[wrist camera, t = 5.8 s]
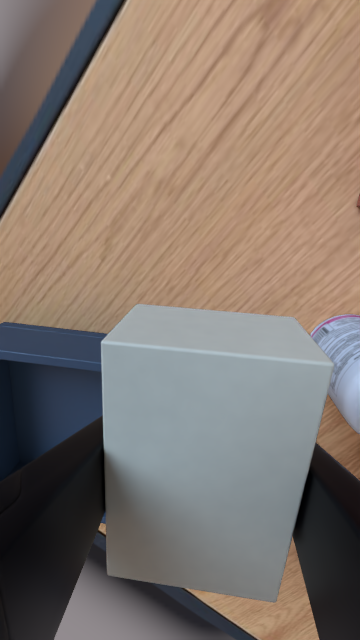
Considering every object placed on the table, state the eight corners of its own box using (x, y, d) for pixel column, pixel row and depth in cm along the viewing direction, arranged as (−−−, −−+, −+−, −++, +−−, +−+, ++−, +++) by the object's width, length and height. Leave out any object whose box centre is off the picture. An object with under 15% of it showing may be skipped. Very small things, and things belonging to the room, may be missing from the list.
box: (187, 483, 24) (181, 536, 20) (19, 458, 25) (-18, 503, 21) (202, 344, 20) (200, 375, 16) (4, 321, 21) (-46, 344, 17)
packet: (259, 502, 11) (276, 604, 8) (134, 485, 11) (106, 576, 8) (294, 316, 8) (337, 363, 6) (136, 303, 9) (99, 340, 6)
